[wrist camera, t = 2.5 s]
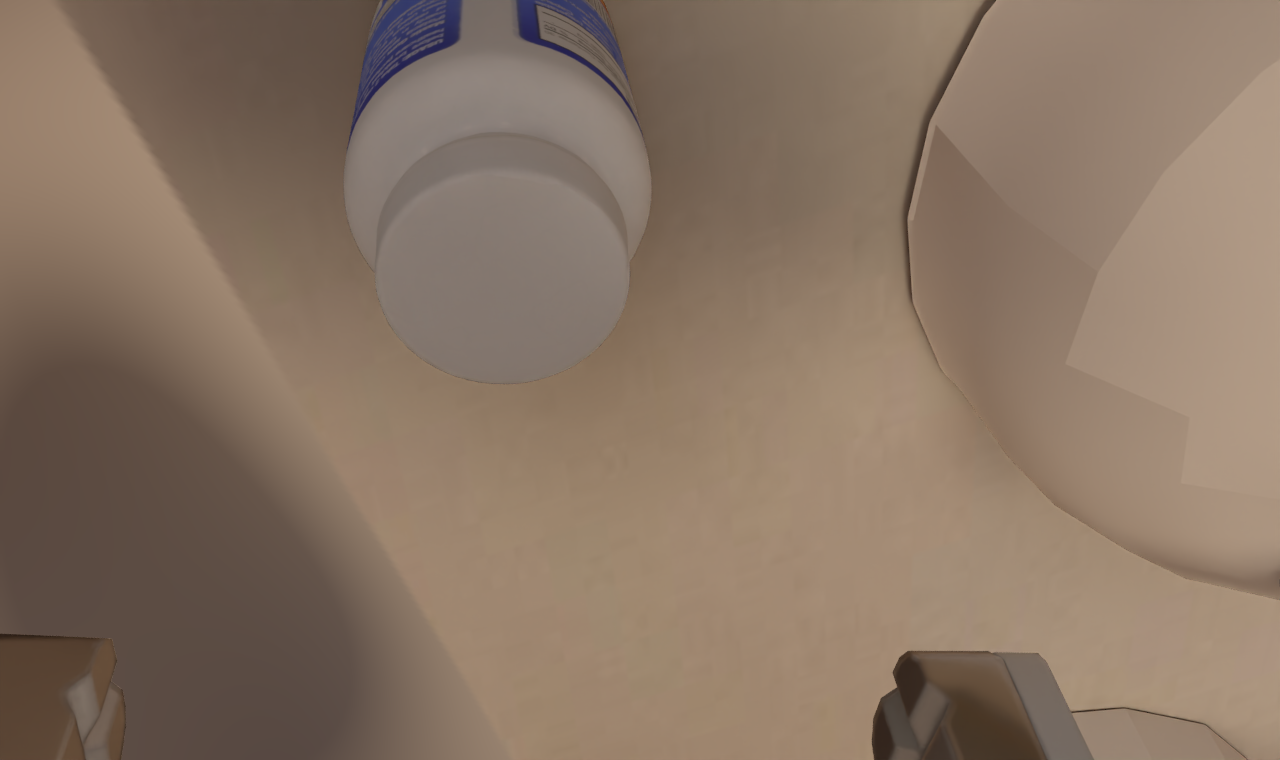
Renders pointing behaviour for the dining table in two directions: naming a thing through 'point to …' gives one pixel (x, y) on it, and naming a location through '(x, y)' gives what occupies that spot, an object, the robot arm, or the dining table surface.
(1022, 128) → the kettle
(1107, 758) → the container
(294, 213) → the dining table surface
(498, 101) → the pill bottle
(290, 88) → the dining table surface
